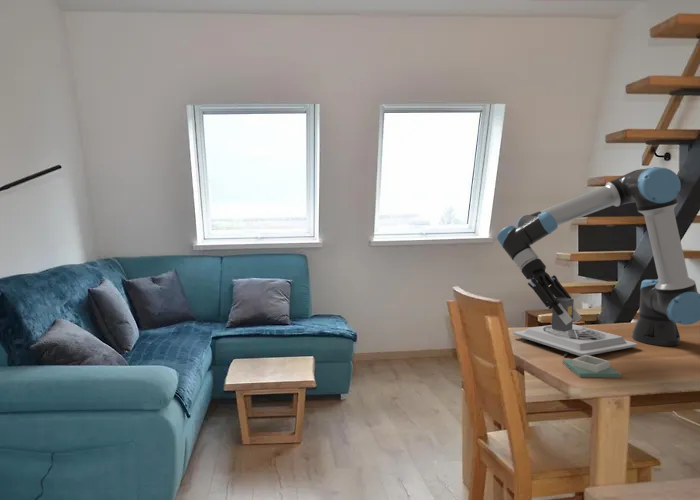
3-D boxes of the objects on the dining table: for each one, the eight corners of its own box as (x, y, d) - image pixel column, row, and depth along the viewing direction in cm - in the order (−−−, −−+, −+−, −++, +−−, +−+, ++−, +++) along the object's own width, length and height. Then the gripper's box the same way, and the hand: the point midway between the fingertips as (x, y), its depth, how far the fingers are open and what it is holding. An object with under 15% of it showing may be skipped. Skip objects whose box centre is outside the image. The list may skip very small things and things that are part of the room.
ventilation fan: (566, 314, 195) (639, 331, 168) (565, 330, 196) (638, 349, 169) (512, 321, 181) (582, 341, 155) (511, 337, 182) (581, 360, 155)
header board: (600, 363, 154) (601, 354, 154) (620, 377, 142) (621, 367, 142) (562, 363, 154) (563, 353, 154) (579, 377, 142) (580, 366, 142)
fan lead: (569, 350, 167) (569, 348, 167) (571, 351, 167) (571, 348, 167) (563, 357, 160) (563, 354, 160) (565, 357, 160) (565, 355, 160)
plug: (559, 326, 159) (560, 296, 158) (572, 329, 156) (574, 299, 155) (551, 328, 157) (552, 298, 156) (565, 331, 153) (566, 301, 152)
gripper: (537, 269, 172) (580, 323, 160) (507, 273, 162) (550, 332, 150) (552, 255, 167) (596, 310, 155) (521, 259, 157) (566, 318, 145)
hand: (573, 321), depth 153 cm, fingers closed on plug, 4 cm apart
